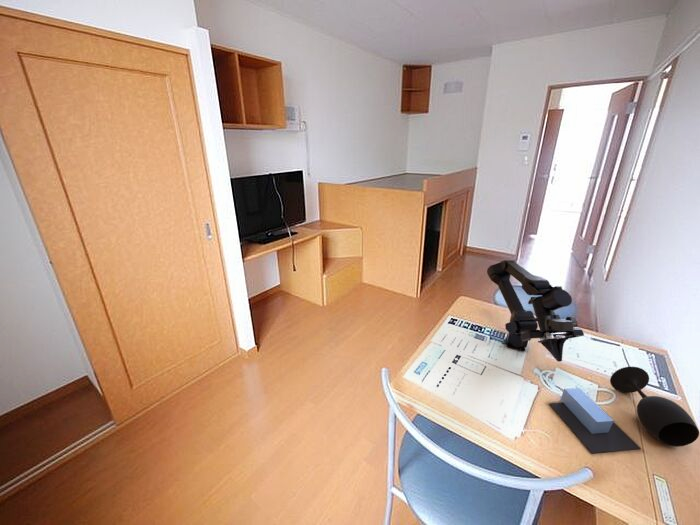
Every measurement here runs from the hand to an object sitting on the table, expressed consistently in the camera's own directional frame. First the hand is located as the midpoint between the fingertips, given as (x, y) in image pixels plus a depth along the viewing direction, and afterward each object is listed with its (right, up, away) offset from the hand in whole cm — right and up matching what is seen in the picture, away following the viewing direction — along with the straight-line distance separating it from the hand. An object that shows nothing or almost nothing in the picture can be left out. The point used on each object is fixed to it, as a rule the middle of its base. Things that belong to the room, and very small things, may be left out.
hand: (559, 361), depth 98 cm
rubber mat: (+1, -15, -11) cm, 18 cm away
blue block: (+1, -9, -4) cm, 10 cm away
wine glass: (+21, -5, -1) cm, 22 cm away
